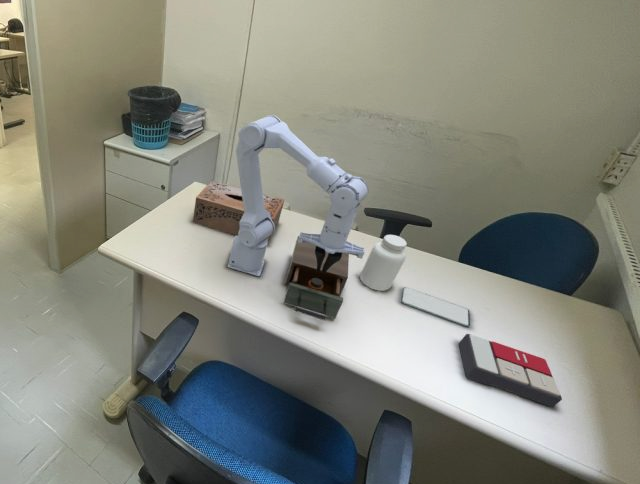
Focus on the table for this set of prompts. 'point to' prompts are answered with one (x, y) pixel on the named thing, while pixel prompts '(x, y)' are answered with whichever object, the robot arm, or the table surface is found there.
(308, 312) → the drawer
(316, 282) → the bottle
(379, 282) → the pill bottle
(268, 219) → the robot arm
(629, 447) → the table surface
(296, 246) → the cabinet
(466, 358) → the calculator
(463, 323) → the smartphone
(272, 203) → the tissue box cover
